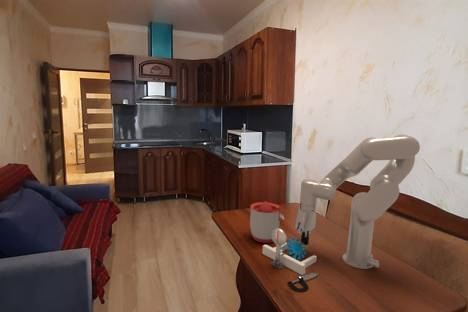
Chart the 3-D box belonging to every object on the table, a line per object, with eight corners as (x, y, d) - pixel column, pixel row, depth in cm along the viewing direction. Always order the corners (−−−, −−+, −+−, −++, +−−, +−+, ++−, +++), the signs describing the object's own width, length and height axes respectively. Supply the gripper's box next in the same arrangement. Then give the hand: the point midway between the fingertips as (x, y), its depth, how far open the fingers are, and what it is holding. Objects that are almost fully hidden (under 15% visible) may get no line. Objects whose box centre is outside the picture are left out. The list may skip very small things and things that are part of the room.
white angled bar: (321, 264, 124) (322, 255, 123) (302, 275, 115) (302, 265, 114) (281, 245, 140) (282, 237, 140) (262, 253, 131) (262, 245, 131)
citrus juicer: (281, 247, 138) (284, 208, 135) (246, 243, 141) (248, 204, 138) (283, 234, 153) (285, 198, 150) (251, 230, 156) (252, 195, 153)
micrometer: (297, 295, 103) (297, 289, 102) (285, 284, 109) (285, 278, 109) (327, 285, 110) (328, 279, 109) (314, 275, 116) (315, 269, 116)
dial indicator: (290, 265, 122) (292, 229, 119) (281, 270, 118) (283, 232, 115) (277, 259, 127) (280, 224, 124) (268, 263, 123) (270, 227, 120)
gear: (290, 259, 124) (285, 236, 130) (284, 263, 128) (279, 241, 134) (311, 258, 128) (305, 237, 134) (304, 262, 132) (298, 241, 138)
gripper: (310, 201, 138) (307, 236, 141) (291, 207, 129) (288, 245, 132) (324, 205, 133) (320, 242, 136) (304, 211, 123) (301, 251, 126)
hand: (304, 243), depth 134 cm, fingers closed
